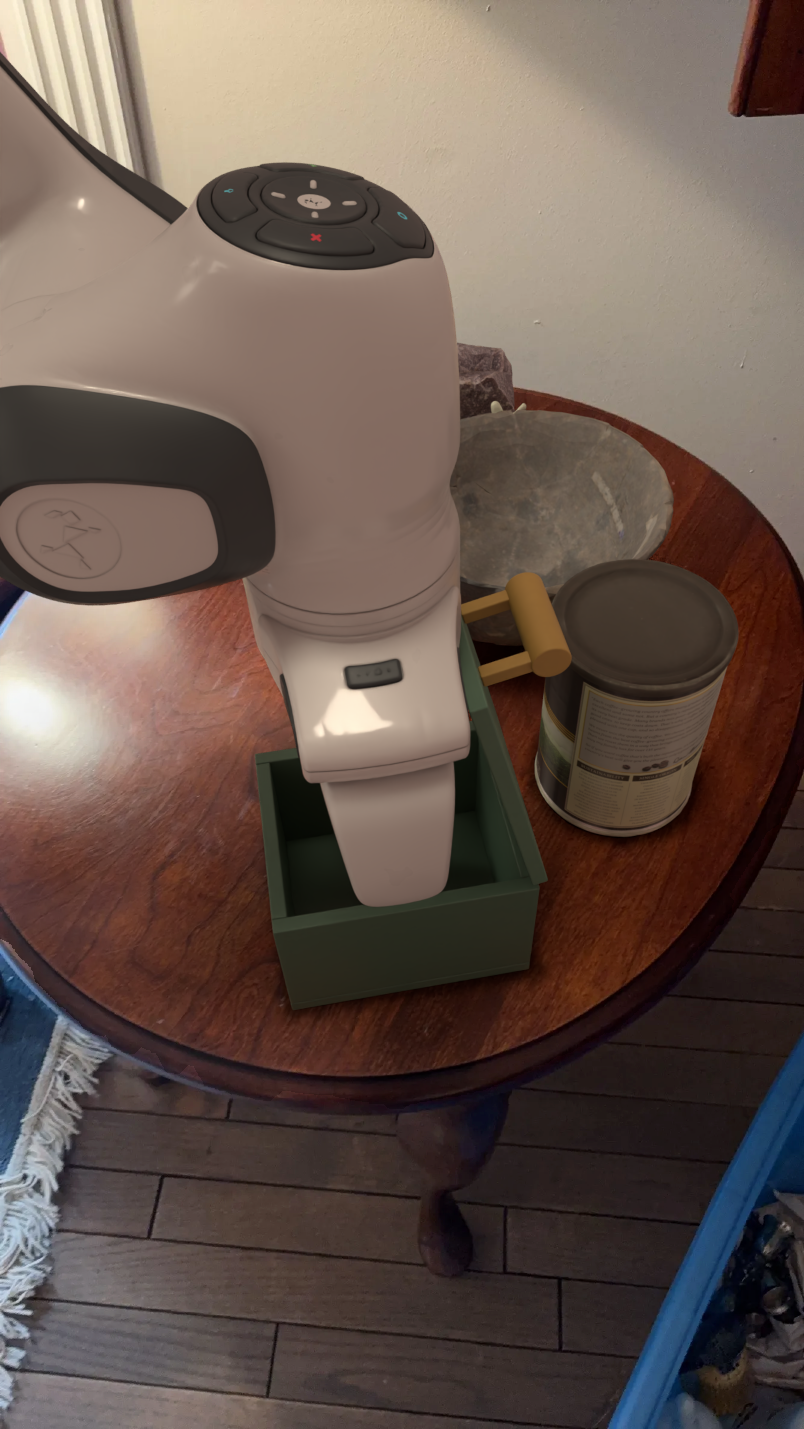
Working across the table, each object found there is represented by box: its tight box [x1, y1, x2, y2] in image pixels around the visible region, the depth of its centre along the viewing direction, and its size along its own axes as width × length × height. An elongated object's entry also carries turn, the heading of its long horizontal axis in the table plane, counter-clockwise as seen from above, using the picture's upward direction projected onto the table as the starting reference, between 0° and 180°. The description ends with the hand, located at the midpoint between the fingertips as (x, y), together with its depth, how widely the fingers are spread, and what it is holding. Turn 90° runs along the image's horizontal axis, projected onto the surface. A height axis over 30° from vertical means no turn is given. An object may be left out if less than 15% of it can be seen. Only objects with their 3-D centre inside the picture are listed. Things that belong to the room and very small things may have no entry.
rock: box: [457, 342, 516, 419], centre depth 89 cm, size 14×14×15 cm
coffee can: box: [534, 559, 740, 838], centre depth 63 cm, size 10×10×14 cm
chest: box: [254, 720, 540, 1011], centre depth 59 cm, size 14×12×9 cm
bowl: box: [450, 409, 675, 647], centre depth 75 cm, size 21×21×10 cm
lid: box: [459, 572, 572, 885], centre depth 50 cm, size 15×12×5 cm
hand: (374, 790), depth 53 cm, fingers open, 8 cm apart
